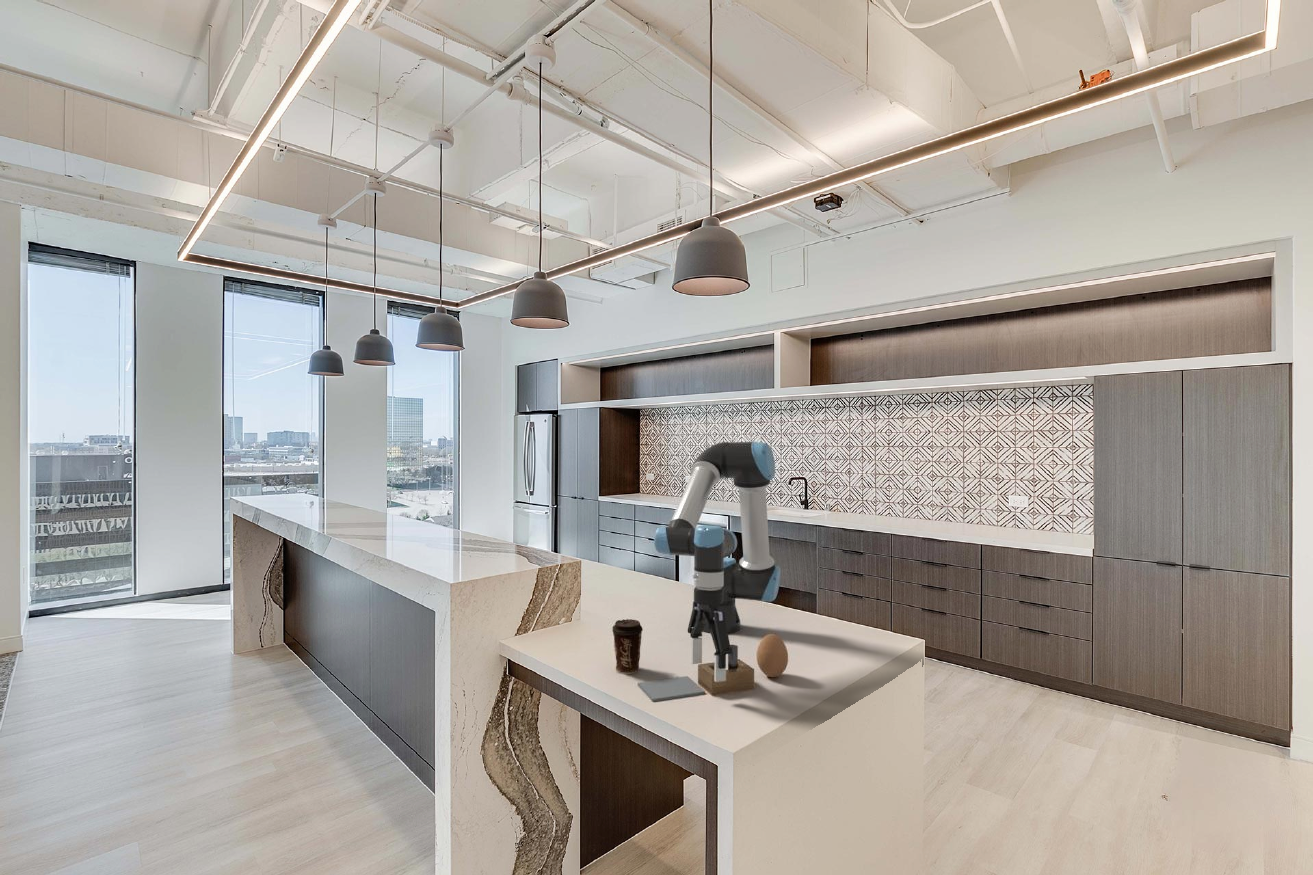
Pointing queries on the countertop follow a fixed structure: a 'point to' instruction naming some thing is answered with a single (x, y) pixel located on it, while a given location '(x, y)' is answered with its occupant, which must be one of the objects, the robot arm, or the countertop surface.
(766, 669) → the egg
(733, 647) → the post stand
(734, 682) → the c link
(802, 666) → the countertop surface
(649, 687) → the mat
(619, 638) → the coffee cup
